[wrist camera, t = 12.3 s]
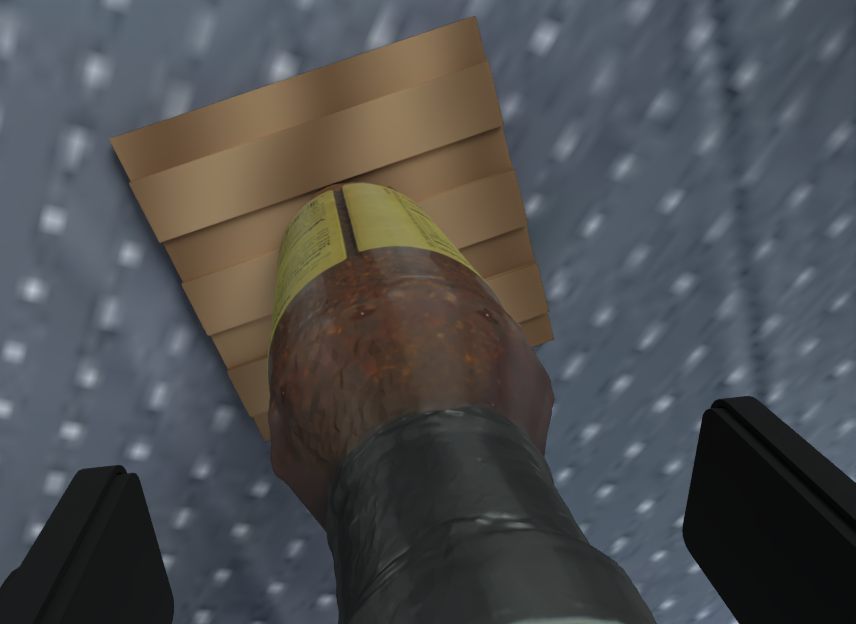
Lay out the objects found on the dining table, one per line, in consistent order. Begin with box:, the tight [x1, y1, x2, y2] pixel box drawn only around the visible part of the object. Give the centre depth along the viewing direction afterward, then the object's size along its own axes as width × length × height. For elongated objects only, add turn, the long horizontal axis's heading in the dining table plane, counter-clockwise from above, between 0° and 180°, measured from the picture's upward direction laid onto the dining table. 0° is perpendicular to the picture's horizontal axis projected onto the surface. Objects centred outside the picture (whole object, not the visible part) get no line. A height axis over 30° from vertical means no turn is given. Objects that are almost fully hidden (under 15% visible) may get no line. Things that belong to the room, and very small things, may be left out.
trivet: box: [109, 16, 554, 441], centre depth 25 cm, size 14×14×1 cm
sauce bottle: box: [267, 182, 657, 624], centre depth 15 cm, size 6×6×20 cm
